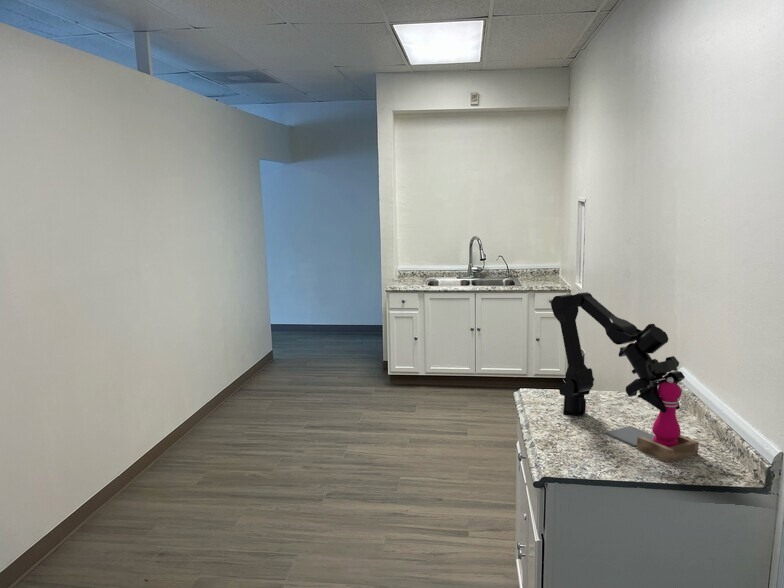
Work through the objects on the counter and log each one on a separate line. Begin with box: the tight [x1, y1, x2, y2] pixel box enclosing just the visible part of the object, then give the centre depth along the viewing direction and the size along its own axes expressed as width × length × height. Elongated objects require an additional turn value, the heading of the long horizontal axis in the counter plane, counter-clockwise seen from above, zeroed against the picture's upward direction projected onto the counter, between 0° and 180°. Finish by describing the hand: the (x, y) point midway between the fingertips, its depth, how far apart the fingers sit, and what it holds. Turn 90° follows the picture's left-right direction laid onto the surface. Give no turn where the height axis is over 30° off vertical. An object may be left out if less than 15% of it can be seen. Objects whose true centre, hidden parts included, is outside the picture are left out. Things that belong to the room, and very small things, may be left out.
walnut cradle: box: [636, 434, 700, 464], centre depth 169 cm, size 10×12×4 cm
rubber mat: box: [604, 425, 655, 448], centre depth 180 cm, size 11×11×1 cm
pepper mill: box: [651, 377, 682, 447], centre depth 168 cm, size 7×7×20 cm
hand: (671, 410), depth 167 cm, fingers closed on pepper mill, 5 cm apart
